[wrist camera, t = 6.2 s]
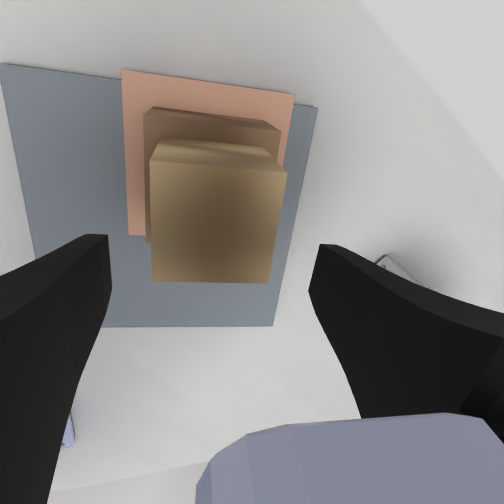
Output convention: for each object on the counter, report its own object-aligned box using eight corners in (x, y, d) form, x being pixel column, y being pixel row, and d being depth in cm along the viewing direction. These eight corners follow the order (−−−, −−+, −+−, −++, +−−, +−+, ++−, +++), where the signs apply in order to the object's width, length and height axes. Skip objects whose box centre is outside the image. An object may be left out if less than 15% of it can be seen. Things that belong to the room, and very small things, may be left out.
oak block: (161, 231, 16) (151, 281, 12) (161, 136, 14) (149, 160, 10) (250, 235, 17) (267, 283, 13) (262, 147, 15) (287, 173, 11)
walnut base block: (153, 213, 20) (145, 243, 16) (153, 106, 17) (143, 114, 14) (250, 219, 21) (262, 248, 17) (264, 120, 18) (281, 131, 15)
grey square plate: (53, 320, 23) (49, 328, 22) (3, 51, 16) (-7, 50, 15) (270, 319, 26) (272, 327, 26) (315, 97, 19) (320, 98, 18)
